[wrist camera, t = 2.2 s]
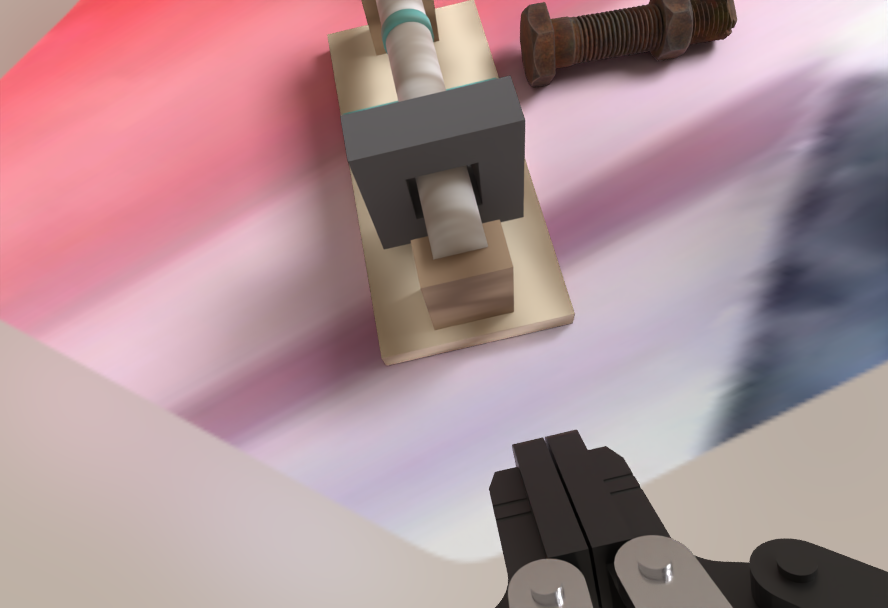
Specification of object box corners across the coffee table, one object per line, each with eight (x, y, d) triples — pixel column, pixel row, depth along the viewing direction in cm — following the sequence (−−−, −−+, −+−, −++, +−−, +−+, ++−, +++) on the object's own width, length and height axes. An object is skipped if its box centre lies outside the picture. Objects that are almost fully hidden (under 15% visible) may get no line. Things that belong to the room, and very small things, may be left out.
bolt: (715, 62, 48) (525, 93, 48) (707, -5, 47) (516, 27, 48) (753, 36, 42) (537, 72, 42) (744, -40, 42) (526, -3, 42)
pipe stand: (475, 15, 50) (466, -97, 42) (572, 322, 38) (587, 252, 30) (332, 49, 50) (295, -56, 42) (386, 365, 39) (350, 307, 30)
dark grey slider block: (511, 178, 40) (510, 75, 31) (523, 217, 38) (525, 119, 30) (376, 210, 40) (340, 115, 32) (383, 249, 38) (347, 161, 30)
